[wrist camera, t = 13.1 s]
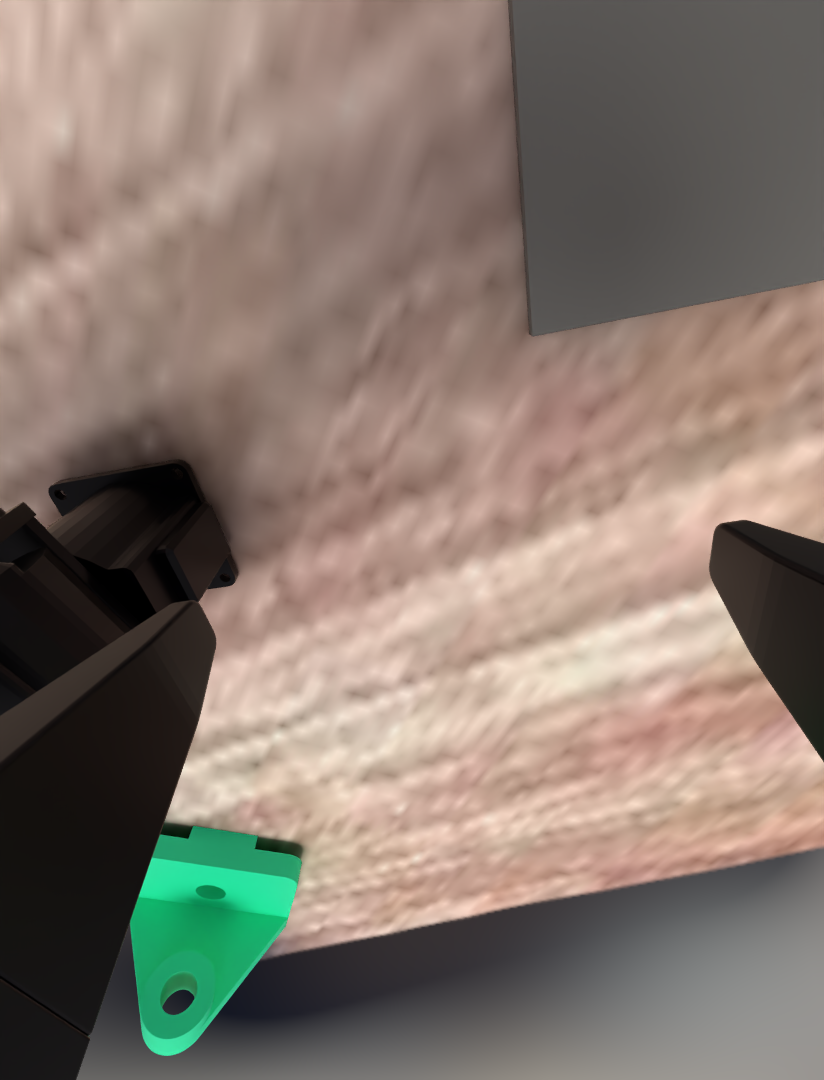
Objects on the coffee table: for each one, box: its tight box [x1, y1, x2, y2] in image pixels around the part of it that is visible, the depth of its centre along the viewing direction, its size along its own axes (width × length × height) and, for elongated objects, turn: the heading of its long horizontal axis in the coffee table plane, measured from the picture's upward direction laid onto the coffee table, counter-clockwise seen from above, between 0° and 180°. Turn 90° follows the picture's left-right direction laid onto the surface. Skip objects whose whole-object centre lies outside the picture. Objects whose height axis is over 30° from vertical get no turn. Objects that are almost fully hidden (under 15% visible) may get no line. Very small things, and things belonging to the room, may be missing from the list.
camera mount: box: [130, 826, 302, 1056], centre depth 34 cm, size 12×8×10 cm, turn 75°
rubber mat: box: [508, 0, 824, 337], centre depth 14 cm, size 15×13×1 cm
